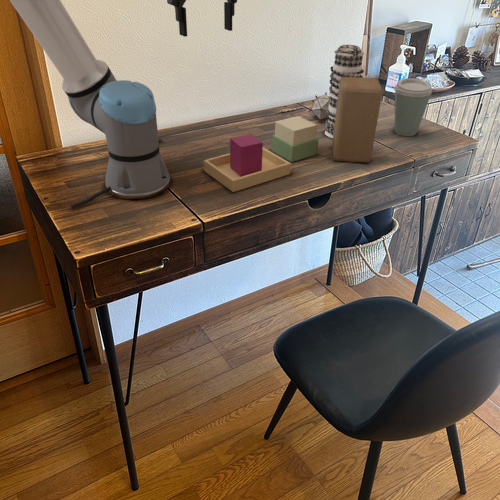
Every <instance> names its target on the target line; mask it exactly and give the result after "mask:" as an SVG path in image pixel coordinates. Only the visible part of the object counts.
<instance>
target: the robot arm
mask: <svg viewBox="0 0 500 500" xmlns="http://www.w3.org/2000/svg"><path fill="white" fill-rule="evenodd" d="M9 1H10V3H11V4H12V6H13V8H14V9H15V10H16V12H17V13H18V15H19V16H20V17H21V20H23V22H24V24H25V25H26V26H27V28H28V29H29V31H30V32H31V33H32V35H33V37H34V38H35V39H36V41H37V42H38V44H39V45H40V47H41V49H42V50H43V51H44V52H45V54H46V55H47V57H48V59H49V60H50V61H51V62H52V64H53V66H54V67H55V68H56V70H57V71H58V73H59V74H60V75H61V77H62V79H63V80H62V84H61V88H62V90H63V92H64V93H65V95H66V96H67V99H68V104H69V105H70V107H71V109H72V111H73V112H74V113H75V114H76V116H77V117H78V118H79V119H81V120H82V121H84V122H85V123H87V124H89V125H91V126H92V127H94V128H95V129H97V130H98V131H100V132H101V133H103V134H104V135H105V140H106V146H107V152H108V161H107V167H106V172H105V179H104V180H105V181H104V182H105V188H103V189H102V190H100V191H98V192H96V193H94V194H92V195H90V196H89V197H87V198H86V199H83V200H81V201H79V202H76V203H72V204H70V207H71V209H75V208H77V207H81V206H84V205H86V204H88V203H90V202H92V201H93V200H95V199H96V198H98V197H100V196H102V195H104V194H106V193H108V194H110V195H111V196H113V197H116V198H119V199H122V200H123V199H124V200H143V199H149V198H152V197H156V196H158V195H160V194H162V193H164V192H165V191H167V190H168V188H169V187H170V185H171V177H170V173H169V171H168V169H167V165H166V163H165V161H164V159H163V158H162V155H161V151H160V142H159V141H158V139H159V131H158V120H157V119H158V118H157V104H156V101H155V96H154V93H153V91H152V90H151V88H149V87H148V86H147V85H145V84H144V83H141V82H138V81H132V80H125V79H124V80H123V79H122V80H121V79H119V80H117V79H116V76H115V75H114V73H113V72H112V70H111V68H110V67H109V65H108V64H107V62H106V61H104V60H101V59H97V58H96V56H95V55H94V53H93V52H92V49H90V47H89V45H88V43H87V42H86V40H85V39H84V37H83V35H82V34H81V32H80V30H79V29H78V27H77V25H76V24H75V22H74V21H73V18H71V16H70V14H69V12H68V10H67V9H66V7H65V6H64V4H63V3H62V0H9ZM186 1H187V0H166V3H167V4H168V5H170V6H173V7H174V14H175V21H176V22H177V23H178V31H179V35H180V36H182V37H185V38H186V37H188V22H187V21H188V20H187V8H186V7H184V5H185V3H186ZM237 3H238V0H226V1H224V2H223V10H224V11H223V14H224V16H223V19H224V20H223V23H224V24H223V26H224V30H227V31H229V32H231V31H233V17H235V13H236V12H235V11H236V10H235V7H236V5H235V4H237Z"/></svg>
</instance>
